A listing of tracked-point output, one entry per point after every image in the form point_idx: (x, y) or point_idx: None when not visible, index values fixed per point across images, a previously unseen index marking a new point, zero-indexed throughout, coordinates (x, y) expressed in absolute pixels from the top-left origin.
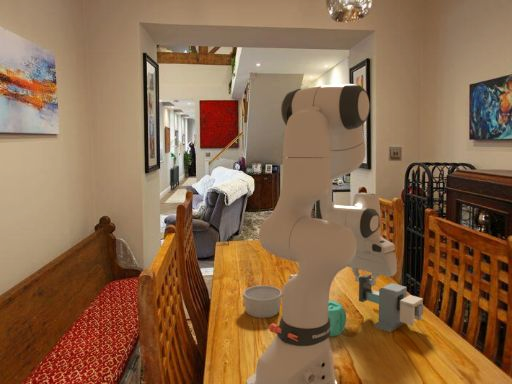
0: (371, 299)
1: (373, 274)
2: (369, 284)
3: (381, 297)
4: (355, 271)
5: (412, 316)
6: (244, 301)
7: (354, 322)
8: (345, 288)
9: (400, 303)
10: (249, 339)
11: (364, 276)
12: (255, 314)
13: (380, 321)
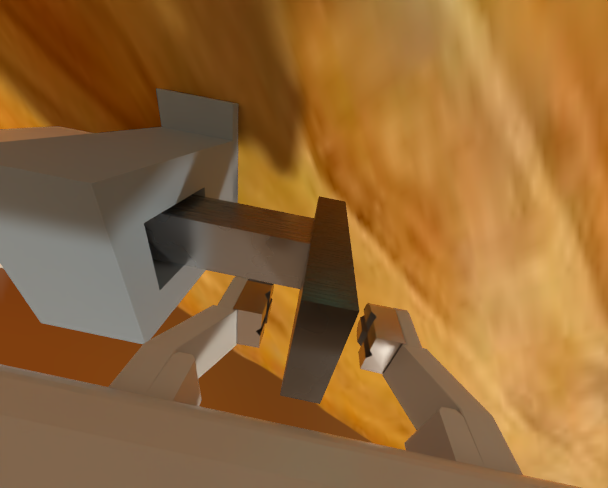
0: (268, 215)
1: (158, 371)
2: (266, 283)
3: (129, 161)
4: (441, 408)
5: (5, 130)
6: None
7: (333, 90)
8: (454, 359)
9: None
10: None
11: (315, 350)
12: None
13: (221, 139)
